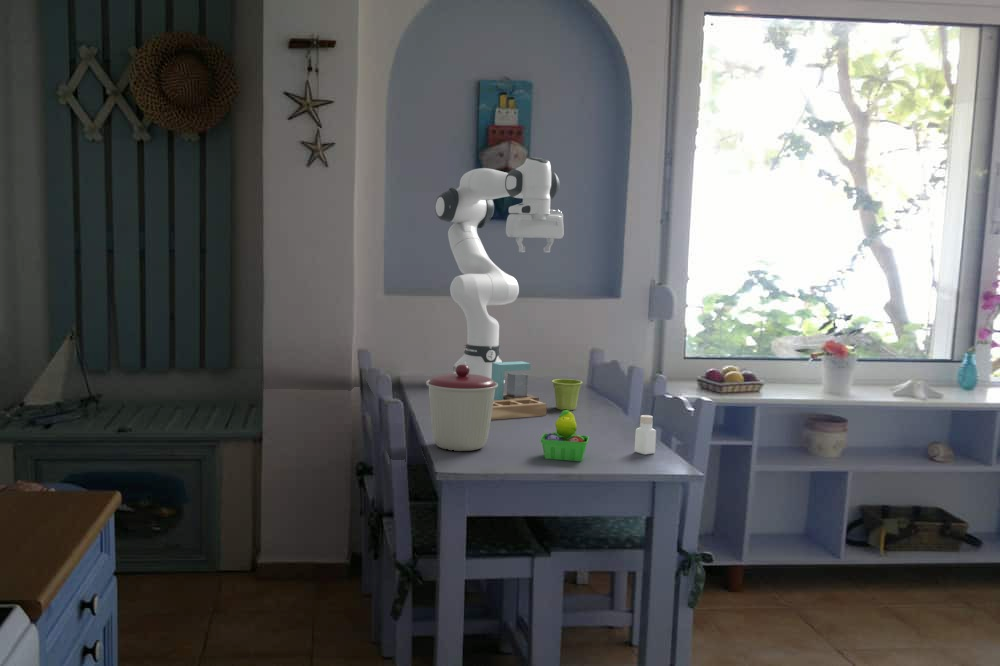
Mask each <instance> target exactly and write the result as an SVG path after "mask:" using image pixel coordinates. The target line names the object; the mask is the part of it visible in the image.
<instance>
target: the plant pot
mask: <svg viewBox="0 0 1000 666" xmlns="http://www.w3.org/2000/svg"><path fill="white" fill-rule="evenodd" d="M551 383H552V385H553V388H554V389H553V390H554V395H555V407H556V409H557V410H560V411H564V410H568V411H574V410H576V408H577V405H578V399H579V393H580V389H581V387H582V386H581V385H582V384H583V381H582V380H578V379H573V378H572V379H571V378H556V379H553V380H551Z"/></svg>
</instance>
